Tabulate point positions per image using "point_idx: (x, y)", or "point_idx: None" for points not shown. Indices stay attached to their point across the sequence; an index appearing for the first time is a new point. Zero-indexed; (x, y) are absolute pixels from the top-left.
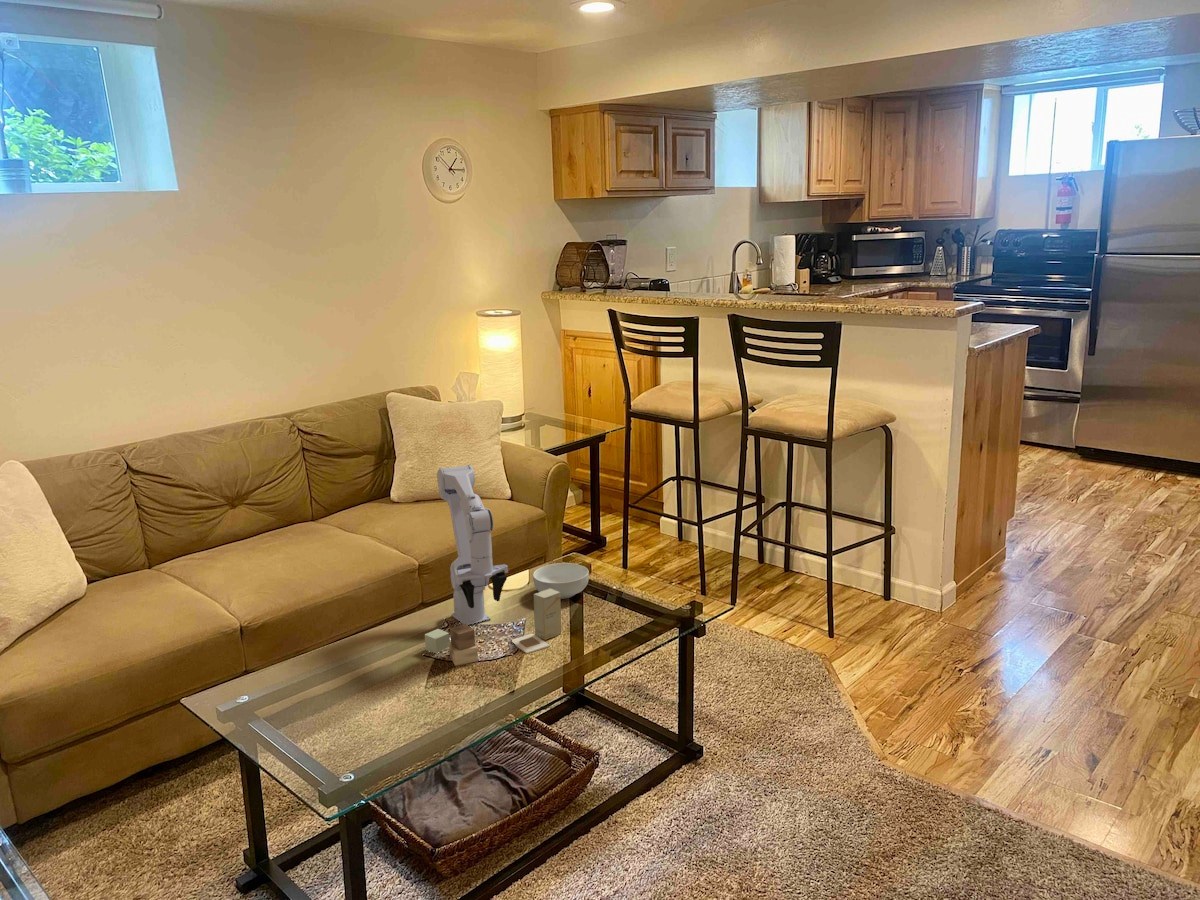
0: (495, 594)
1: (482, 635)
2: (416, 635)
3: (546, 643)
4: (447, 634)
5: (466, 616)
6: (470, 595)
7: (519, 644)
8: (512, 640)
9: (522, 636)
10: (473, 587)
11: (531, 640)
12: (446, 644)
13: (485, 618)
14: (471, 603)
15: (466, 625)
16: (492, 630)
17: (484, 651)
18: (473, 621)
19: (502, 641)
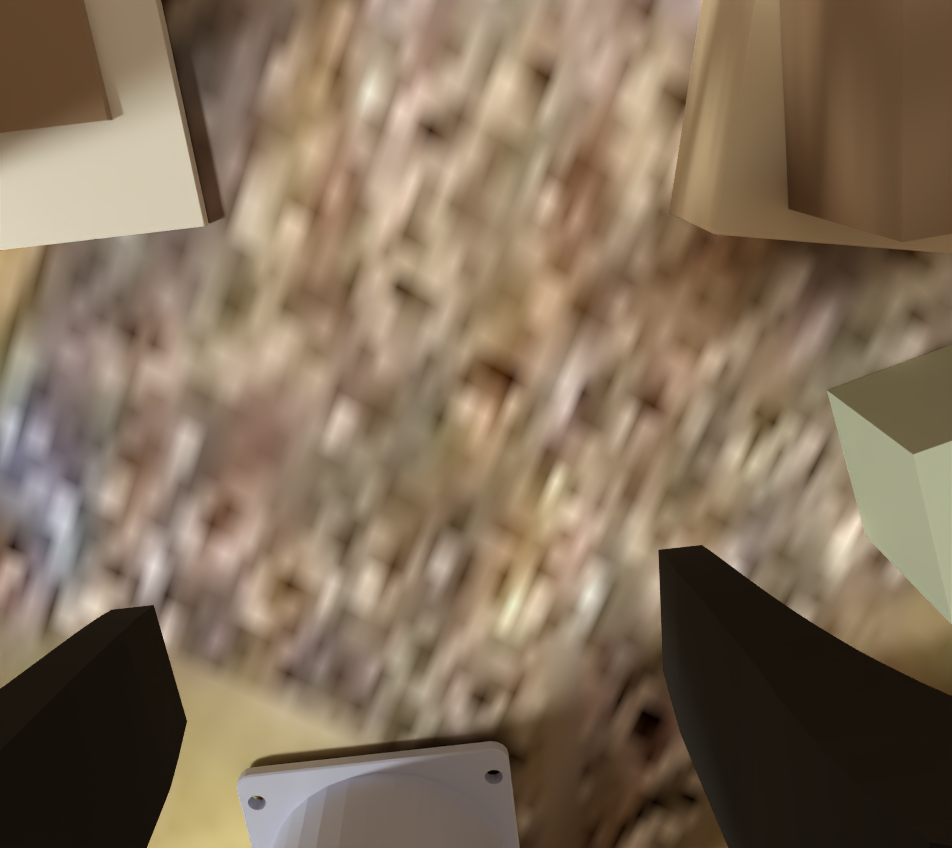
0: (126, 747)
1: (427, 507)
2: None
3: None
4: (935, 442)
5: (473, 843)
6: (873, 675)
7: (130, 53)
8: (178, 202)
9: (39, 244)
10: (947, 813)
11: None
12: (900, 393)
13: (287, 789)
14: (748, 580)
15: (927, 160)
16: (298, 561)
17: (551, 136)
18: (415, 777)
19: (284, 273)
